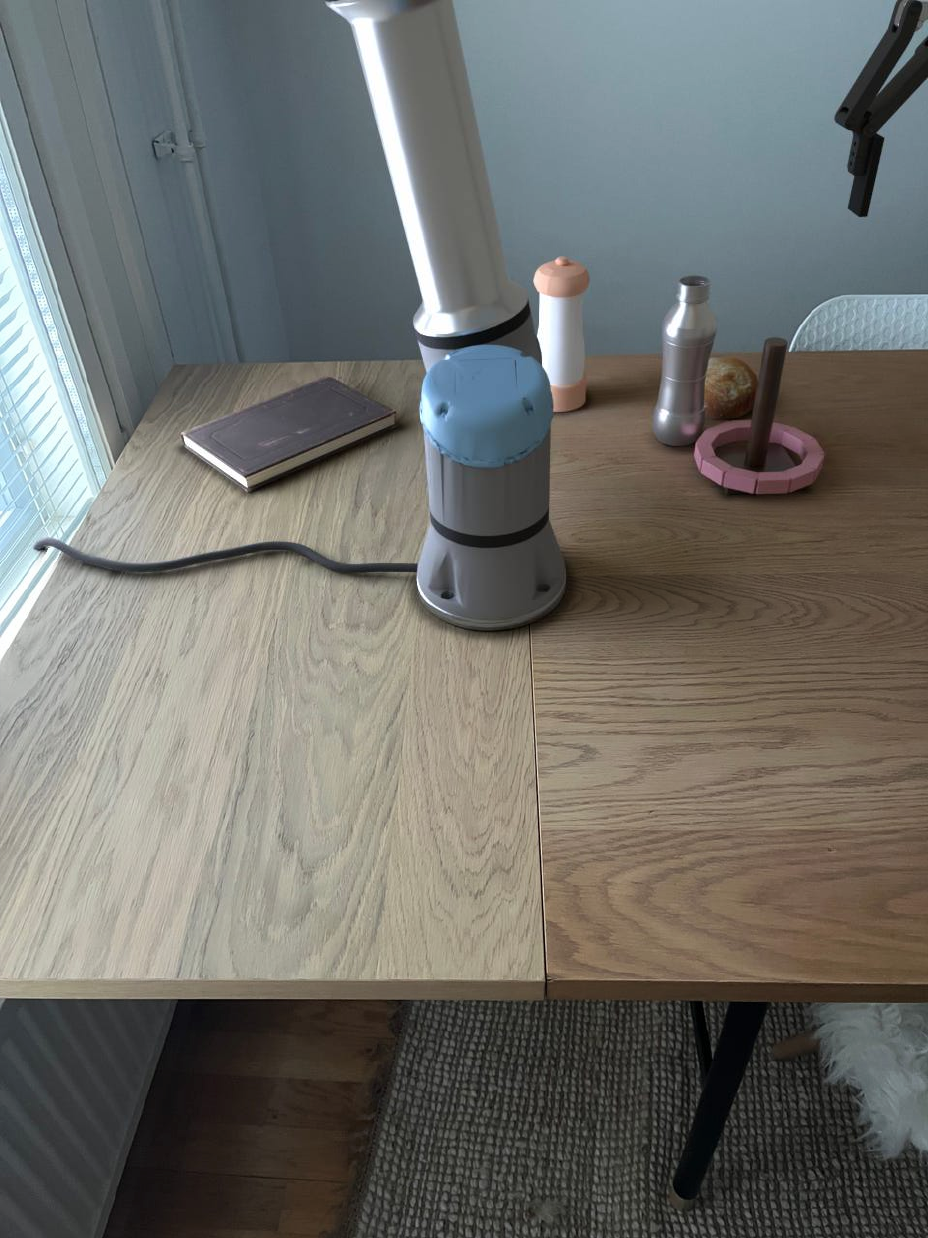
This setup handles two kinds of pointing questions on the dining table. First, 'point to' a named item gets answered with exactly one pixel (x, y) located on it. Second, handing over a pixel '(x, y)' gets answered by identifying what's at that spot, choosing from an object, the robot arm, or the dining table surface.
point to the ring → (758, 480)
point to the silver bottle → (685, 363)
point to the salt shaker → (562, 330)
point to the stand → (762, 420)
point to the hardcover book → (288, 432)
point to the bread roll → (729, 388)
